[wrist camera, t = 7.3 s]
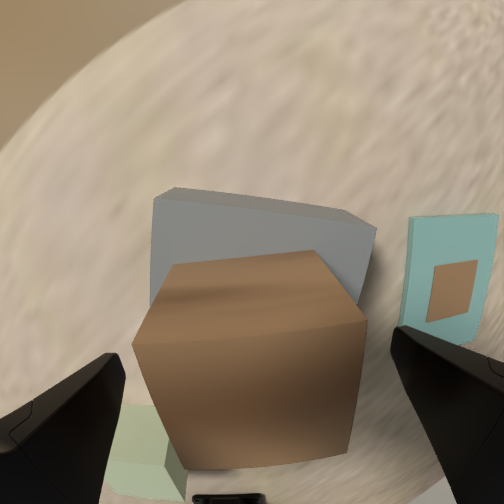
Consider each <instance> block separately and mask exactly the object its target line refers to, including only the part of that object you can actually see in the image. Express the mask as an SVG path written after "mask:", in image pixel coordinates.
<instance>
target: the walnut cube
mask: <svg viewBox="0 0 504 504" xmlns="http://www.w3.org/2000/svg"><path fill="white" fill-rule="evenodd" d="M366 330H367V319H366V317H365V316H364V314H363V313H362V312H361V310H360V309H359V308H358V306H357V305H356V304H355V302H354V301H353V300H352V298H351V297H350V296H349V294H348V293H347V292H346V291H345V289H344V288H343V287H342V285H341V284H340V283H339V281H338V280H337V279H336V277H335V276H334V275H333V274H332V272H331V271H330V270H329V268H328V267H327V266H326V265H325V263H324V262H323V261H322V260H321V258H320V257H319V256H318V254H317V253H316V252H315V251H314V250H305V251H296V252H287V253H277V254H268V255H259V256H249V257H240V258H230V259H221V260H211V261H201V262H192V263H182V264H173V266H172V268H171V269H170V271H169V273H168V275H167V277H166V279H165V281H164V282H163V284H162V286H161V288H160V290H159V292H158V294H157V295H156V297H155V299H154V301H153V303H152V305H151V307H150V309H149V311H148V313H147V315H146V317H145V318H144V320H143V322H142V324H141V326H140V328H139V330H138V332H137V334H136V336H135V338H134V340H133V342H132V347H133V350H134V353H135V355H136V358H137V361H138V364H139V367H140V369H141V372H142V375H143V378H144V380H145V383H146V385H147V388H148V390H149V393H150V395H151V398H152V400H153V403H154V405H155V408H156V410H157V412H158V415H159V417H160V419H161V422H162V424H163V426H164V428H165V431H166V433H167V435H168V437H169V439H170V441H171V443H172V446H173V448H174V450H175V452H176V454H177V456H178V458H179V460H180V462H181V464H182V466H183V468H184V470H218V469H240V468H254V467H265V466H274V465H282V464H290V463H297V462H303V461H309V460H315V459H320V458H326V457H330V456H335V455H340V454H344V453H347V449H348V444H349V440H350V435H351V430H352V425H353V420H354V414H355V409H356V403H357V397H358V391H359V385H360V378H361V371H362V364H363V356H364V348H365V339H366Z"/></svg>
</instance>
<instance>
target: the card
mask: <svg viewBox="0 0 504 504" xmlns="http://www.w3.org/2000/svg"><path fill="white" fill-rule="evenodd" d="M498 218H499V215H497V214H494V213H490V214H465V215H443V216H423V217H409V234H408V249H407V261H406V271H405V280H404V289H403V297H402V304H401V311H400V317H399V324H398V326H403V325H407V326H410V327H412V328H415V329H417V330H420V331H423V332H425V333H428V334H430V335H433V336H435V337H438V338H440V339H443V340H446V341H448V342H451V343H453V344H456V345H461V344H464V343H467V342H470V341H473V340H475V337H476V333H477V330H478V326H479V323H480V319H481V315H482V311H483V307H484V303H485V299H486V295H487V290H488V285H489V280H490V275H491V270H492V264H493V258H494V251H495V244H496V237H497V228H498ZM392 359H393V358H392ZM393 361H394V360H393Z"/></svg>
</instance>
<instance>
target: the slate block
mask: <svg viewBox="0 0 504 504" xmlns="http://www.w3.org/2000/svg"><path fill="white" fill-rule="evenodd" d="M376 230H377V228H376V227H374V226H372V225H371V224H369V223H367V222H365V221H363V220H362V219H360V218H358V217H356V216H354V215H353V214H351V213H349V212H347V211H345V210H341V209H335V208H329V207H323V206H317V205H310V204H304V203H297V202H291V201H284V200H277V199H270V198H262V197H255V196H247V195H240V194H231V193H223V192H215V191H206V190H196V189H187V188H177V187H175V188H173V189H171V190H169V191H167V192H165V193H163V194H161V195H159V196H157V197H155V198H154V204H153V218H152V236H151V261H150V307H151V305H152V303H153V301H154V299H155V297H156V295H157V294H158V292H159V290H160V288H161V286H162V284H163V282H164V281H165V279H166V277H167V275H168V273H169V271H170V269H171V268H172V266H173V264H182V263H192V262H201V261H211V260H221V259H230V258H240V257H249V256H259V255H268V254H277V253H287V252H296V251H305V250H314V251H315V252H316V253H317V254H318V256H319V257H320V258H321V260H322V261H323V262H324V263H325V265H326V266H327V267H328V268H329V270H330V271H331V272H332V274H333V275H334V276H335V277H336V279H337V280H338V281H339V283H340V284H341V285H342V287H343V288H344V289H345V291H346V292H347V293H348V294H349V296H350V297H351V298H352V300H353V301H354V302H355V304H356V305H357V304H358V300H359V297H360V293H361V290H362V286H363V283H364V279H365V275H366V271H367V267H368V264H369V260H370V256H371V251H372V247H373V243H374V239H375V234H376Z"/></svg>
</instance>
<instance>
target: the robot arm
mask: <svg viewBox="0 0 504 504" xmlns="http://www.w3.org/2000/svg"><path fill="white" fill-rule="evenodd" d="M390 350H391V355H392V358H393V360H394V363H395V365H396V368H397V371H398V373H399V376H400V379H401V381H402V384H403V386H404V389H405V391H406V393H407V395H408V397H409V399H410V401H411V403H412V405H413V407H414V409H415V411H416V413H417V415H418V417H419V419H420V421H421V423H422V425H423V427H424V429H425V431H426V434H427V436H428V438H429V440H430V442H431V444H432V446H433V449H434V451H435V453H436V455H437V457H438V460H439V462H440V464H441V466H442V469H443V471H444V473H445V476H446V478H447V480H448V483H449V485H450V487H451V490H452V492H453V495H454V498H455V500H456V503H457V504H504V363H503V362H500V361H497V360H495V359H492V358H490V357H486V356H484V355H482V354H479V353H476V352H474V351H471V350H469V349H466V348H464V347H461V346H458V345H456V344H453V343H451V342H448V341H446V340H443V339H440V338H438V337H435V336H433V335H430V334H428V333H425V332H423V331H420V330H417V329H415V328H412V327H410V326H407V325H403V326H398V327H396V328H395V329H394V331H393V336H392V342H391V348H390ZM125 380H126V375H125V371H124V368H123V366H122V363H121V360H120V357H119V355H118V354H117V353H105V354H103V355H101V356H100V357H98V358H97V359H95V360H94V361H92V362H91V363H89V364H87V365H86V366H84V367H83V368H81V369H80V370H78V371H77V372H75V373H73V374H72V375H70V376H69V377H67V378H66V379H64V380H62V381H61V382H59V383H58V384H56V385H55V386H53V387H52V388H50V389H48V390H47V391H45V392H44V393H42V394H41V395H39V396H37V397H36V398H34V399H33V401H32V400H31V401H30V402H28V403H26V404H25V405H23V406H22V407H20V408H18V409H17V410H15V411H13V412H12V413H10V414H8V415H6V416H4V417H2V418H0V504H99V499H100V494H101V489H102V485H103V480H104V476H105V471H106V467H107V463H108V459H109V455H110V451H111V447H112V443H113V439H114V435H115V431H116V428H117V424H118V420H119V416H120V410H121V404H122V398H123V392H124V386H125ZM192 501H193V503H194V504H262V497H261V495H259V494H251V495H228V496H199V495H195V496H192Z"/></svg>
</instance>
